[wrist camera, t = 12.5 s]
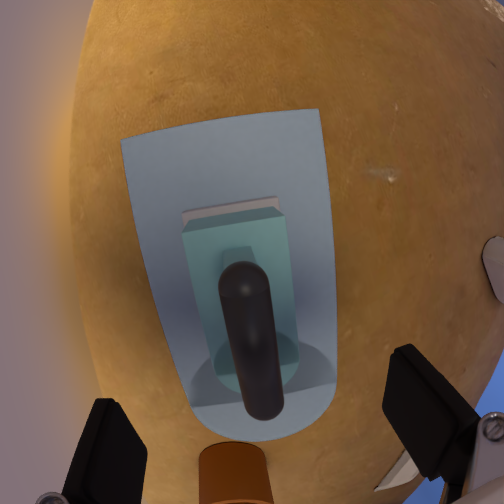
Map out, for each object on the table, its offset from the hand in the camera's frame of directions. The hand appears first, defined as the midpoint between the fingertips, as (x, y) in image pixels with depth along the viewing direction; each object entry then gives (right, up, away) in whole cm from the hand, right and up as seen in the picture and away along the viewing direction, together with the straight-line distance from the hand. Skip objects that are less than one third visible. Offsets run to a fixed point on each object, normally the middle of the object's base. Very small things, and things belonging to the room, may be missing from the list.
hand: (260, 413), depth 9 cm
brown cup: (-3, -24, +25) cm, 35 cm away
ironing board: (-1, +1, +17) cm, 17 cm away
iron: (-1, +3, +12) cm, 12 cm away
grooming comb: (+30, -34, +31) cm, 55 cm away
